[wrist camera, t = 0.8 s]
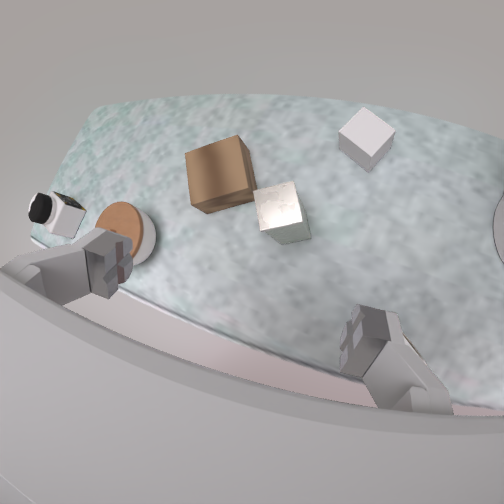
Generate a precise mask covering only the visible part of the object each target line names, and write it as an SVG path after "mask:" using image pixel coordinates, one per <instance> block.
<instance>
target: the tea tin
mask: <svg viewBox="0 0 504 504" xmlns="http://www.w3.org/2000/svg"><path fill="white" fill-rule="evenodd" d="M253 193H254V199H255V204H256V210H257V216H258V221H259V227H260V231H261V232H266V233H267V234H268V235H270V236H271V237H272V238H274V239H275V240H276V241H277V242H279V243H280V244H281V245H284V244H289V243H293V242H298V241H302V240H307V239H311V234H310V229H309V225H308V220H307V215H306V211H305V208H304V206H303V204H302V201H301V199H300V197H299V195H298V193H297V191H296V187H295V183H294V181H290V182H286V183H282V184H278V185H274V186H270V187H266V188H262V189H259V190H255V191H253Z"/></svg>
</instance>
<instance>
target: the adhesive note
mask: <svg viewBox="0 0 504 504" xmlns="http://www.w3.org/2000/svg"><path fill="white" fill-rule="evenodd" d="M338 132H339V149H340V150H341V151H342V152H344V153H345V154H346V155H347V156H349V157H350V158H351V159H352V160H354V161H355V162H356V163H357V164H358V165H360V166H361V167H362V168H363V169H364V170H366V171H367V172H368V173H369V172H370V170H371V169H372V168H373V167H374V166H375V165H376V164H377V163H378V162H379V161H380V160H381V158H382V157H383V156H384V155H385V154H386V153H387V152H388V151H389V150H390V149H391V146H392V142H393V139H394V135H395V132H396V130H395V129H393V128H392V127H391V126H389V125H388V124H387V123H385V122H384V121H383V120H381V119H380V118H379V117H377V116H376V115H375V114H373V113H372V112H370V111H369V110H368V109H366V108H365V107H363V108H362V109H361V110H360V111H358V112H357V113H356V114H355V115H354V116H353V117H352V118H351V119H350V120H349V121H348V122H347V123H346V124H345V125H344V126H343V127H342V128H341V129H340V130H339V131H338Z"/></svg>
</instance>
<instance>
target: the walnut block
mask: <svg viewBox="0 0 504 504" xmlns="http://www.w3.org/2000/svg"><path fill="white" fill-rule="evenodd" d="M185 158H186V167H187V176H188V185H189V193H190V201H191V205H192V206H194V207H195V208H197V209H199V210H201V211H203V212H204V213H206V214H210V213H213V212H216V211H220V210H223V209H227V208H230V207H234V206H237V205H241V204H245V203H248V202H252V201H255V199H254V193H253V191H255V190H257V186H256V181H255V176H254V172H253V167H252V162H251V157H250V153H249V150H248V148H247V147H246V146H245V144H244V143H243V141H242V140H241V138H240V137H239V136H238V135H235V136H232V137H229V138H226V139H223V140H220V141H218V142H215V143H212V144H209V145H206V146H203V147H201V148H198V149H195V150H192V151H190V152H187V153H185Z"/></svg>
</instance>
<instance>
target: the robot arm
mask: <svg viewBox="0 0 504 504" xmlns="http://www.w3.org/2000/svg"><path fill="white" fill-rule="evenodd" d="M493 230H494V239H495V244H496V247H497V250H498V253H499V255H500V258H501V259H502V261H503V263H504V195H503V197H502V199H501V200H500V202H499V204H498V206H497V208H496V211H495V216H494V225H493ZM132 249H133V242H132V239H131V238H130V237H127V236H124V235H121V234H118V233H115V232H112V231H109V230H106V229H103V228H100V227H96V228H95V229H93V230H92V231H90V232H89V233H87V234H86V235H85V236H83V237H82V238H80V239H79V240H77V241H76V242H75V243H73V244H72V245H71V244H65V245H61V246H56V247H52V248H47V249H43V250H39V251H35V252H30V253H27V254H23V255H18V256H17V257H15V258H14V259H12V260H11V261H10V262H8V263H7V264H6V265H4V266H3V267H2V268H0V504H504V416H459V415H454V413H453V409H452V404H451V400H450V396H449V392H448V390H447V388H446V387H445V386H444V385H443V384H442V383H441V381H440V380H439V379H438V378H437V377H436V376H435V374H434V373H433V372H432V371H431V370H430V369H429V368H428V366H427V365H426V364H425V363H424V362H423V361H422V360H421V359H420V357H419V356H418V355H417V354H416V353H415V352H414V351H413V350H412V348H411V347H410V346H408V345H405V341H404V337H403V333H402V329H401V325H400V321H399V317H398V315H397V313H394V312H390V311H385V310H380V309H376V308H372V307H368V306H364V305H359V304H357V305H356V306H355V307H354V309H353V311H352V313H351V314H352V320H350V321H348V322H347V323H346V325H345V327H344V329H343V331H342V335H341V339H340V349H341V350H342V352H343V353H342V355H341V356H340V372H341V373H345V374H349V375H353V376H358V377H362V380H363V381H364V383H365V385H366V387H367V389H368V390H369V392H370V394H371V396H372V398H373V399H374V401H375V403H376V405H377V406H378V408H373V407H368V406H361V405H355V404H349V403H343V402H338V401H332V400H327V399H322V398H317V397H313V396H308V395H304V394H299V393H295V392H291V391H287V390H283V389H279V388H275V387H271V386H267V385H264V384H260V383H257V382H253V381H249V380H246V379H243V378H239V377H236V376H233V375H229V374H226V373H223V372H220V371H216V370H214V369H211V368H208V367H205V366H202V365H199V364H196V363H193V362H190V361H187V360H184V359H181V358H179V357H176V356H173V355H170V354H168V353H165V352H163V351H160V350H158V349H155V348H153V347H150V346H148V345H145V344H143V343H140V342H138V341H135V340H133V339H131V338H128V337H126V336H123V335H121V334H119V333H117V332H115V331H112V330H110V329H108V328H106V327H104V326H102V325H99V324H97V323H95V322H93V321H91V320H89V319H87V318H85V317H83V316H81V315H79V314H77V313H75V312H73V311H71V310H69V309H67V308H65V307H63V306H62V305H65V304H67V303H69V302H71V301H74V300H76V299H78V298H81V297H83V296H85V295H88V294H90V292H91V293H94V294H96V295H99V296H102V297H104V298H107V299H110V297H111V296H112V295H113V294H114V293H115V292H116V291H117V290H118V284H121V283H124V282H126V280H127V279H128V278H129V277H130V274H131V272H132V269H133V258H132V256H131V255H130V252H131V250H132Z"/></svg>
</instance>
